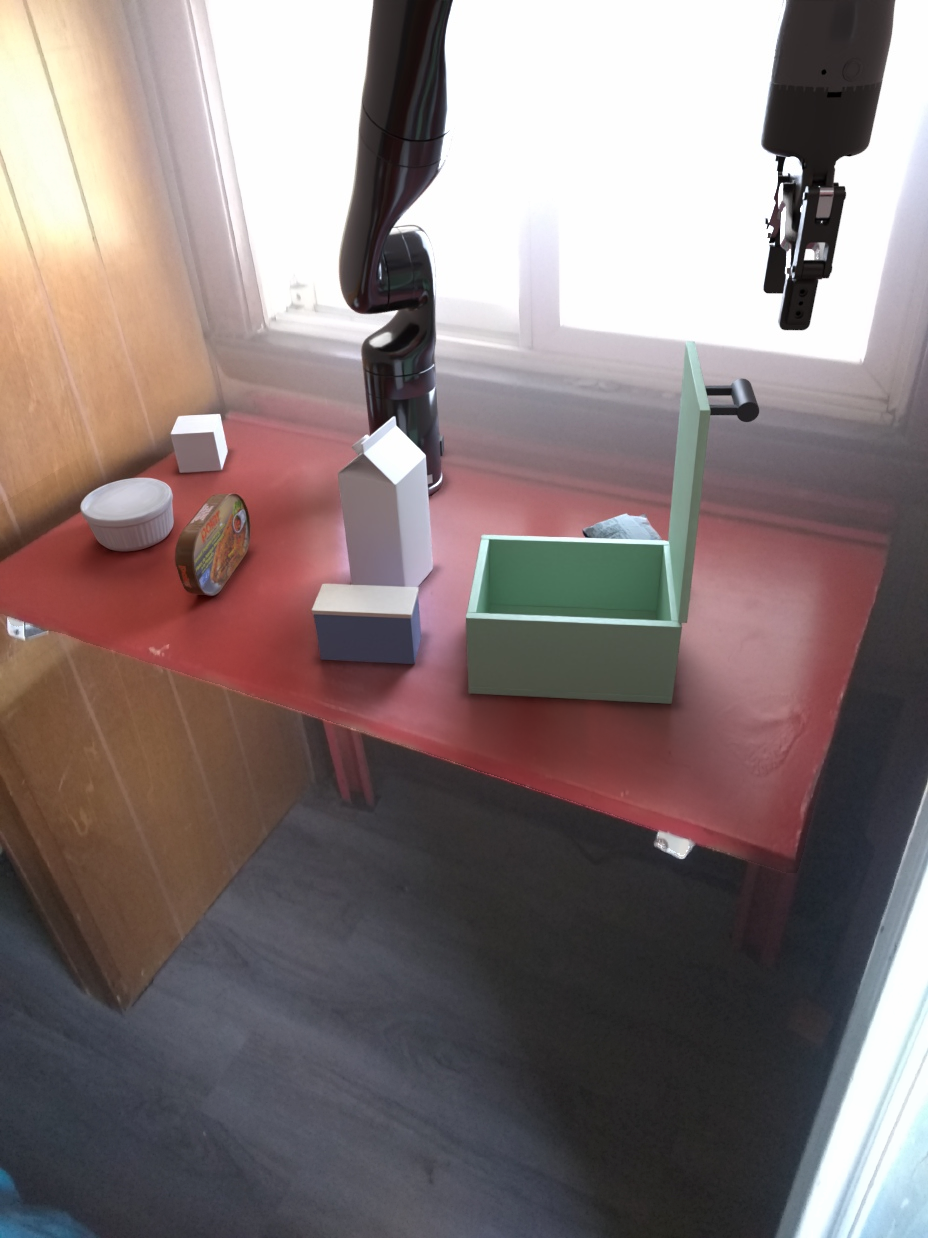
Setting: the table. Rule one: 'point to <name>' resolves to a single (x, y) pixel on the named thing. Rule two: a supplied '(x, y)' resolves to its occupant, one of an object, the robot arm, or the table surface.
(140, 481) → the ramekin
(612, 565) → the box
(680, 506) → the lid
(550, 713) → the table surface
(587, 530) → the packaged food
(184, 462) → the white cube
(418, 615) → the snack box
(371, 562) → the milk carton
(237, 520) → the tin
